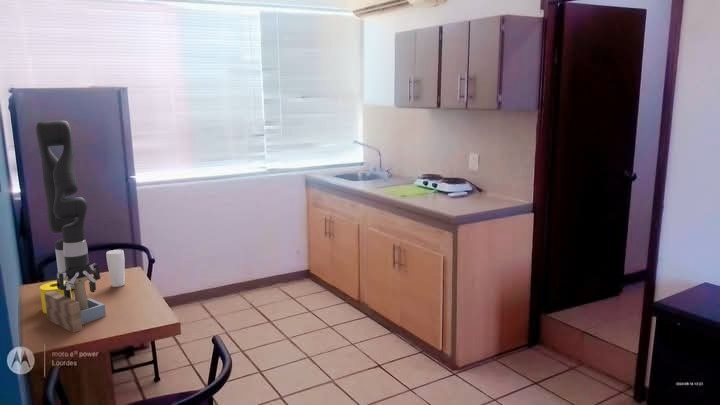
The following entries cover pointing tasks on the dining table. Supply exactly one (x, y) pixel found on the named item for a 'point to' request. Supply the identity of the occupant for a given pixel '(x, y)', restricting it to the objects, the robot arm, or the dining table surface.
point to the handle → (81, 292)
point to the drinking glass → (116, 267)
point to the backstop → (63, 311)
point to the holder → (92, 311)
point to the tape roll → (48, 288)
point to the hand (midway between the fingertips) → (80, 295)
